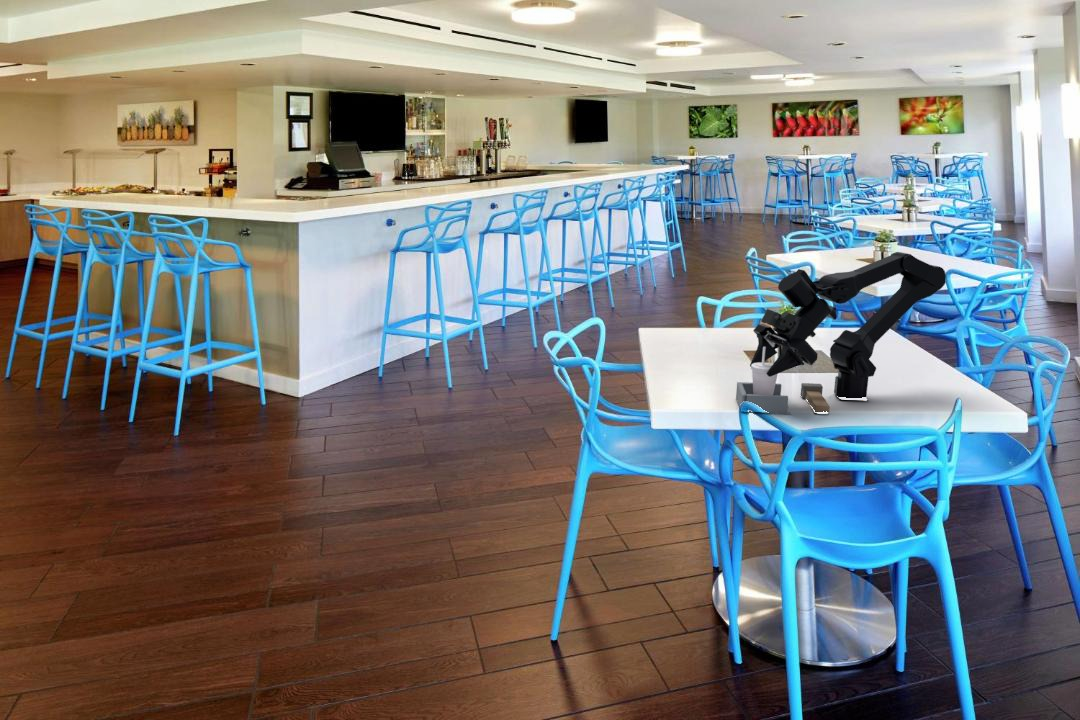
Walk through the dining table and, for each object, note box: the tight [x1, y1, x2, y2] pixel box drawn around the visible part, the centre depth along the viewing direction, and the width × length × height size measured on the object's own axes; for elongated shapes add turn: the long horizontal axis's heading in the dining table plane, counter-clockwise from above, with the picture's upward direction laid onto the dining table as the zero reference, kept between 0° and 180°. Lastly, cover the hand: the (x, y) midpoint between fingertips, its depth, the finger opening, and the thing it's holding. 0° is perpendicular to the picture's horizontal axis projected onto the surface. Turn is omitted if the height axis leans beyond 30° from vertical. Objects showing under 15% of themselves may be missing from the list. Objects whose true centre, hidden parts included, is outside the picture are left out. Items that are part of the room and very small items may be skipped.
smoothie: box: [750, 347, 778, 395], centre depth 193 cm, size 6×6×14 cm
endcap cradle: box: [735, 381, 793, 415], centre depth 194 cm, size 11×10×4 cm
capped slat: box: [800, 382, 830, 413], centre depth 195 cm, size 14×4×3 cm, turn 173°
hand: (759, 371), depth 192 cm, fingers open, 7 cm apart
